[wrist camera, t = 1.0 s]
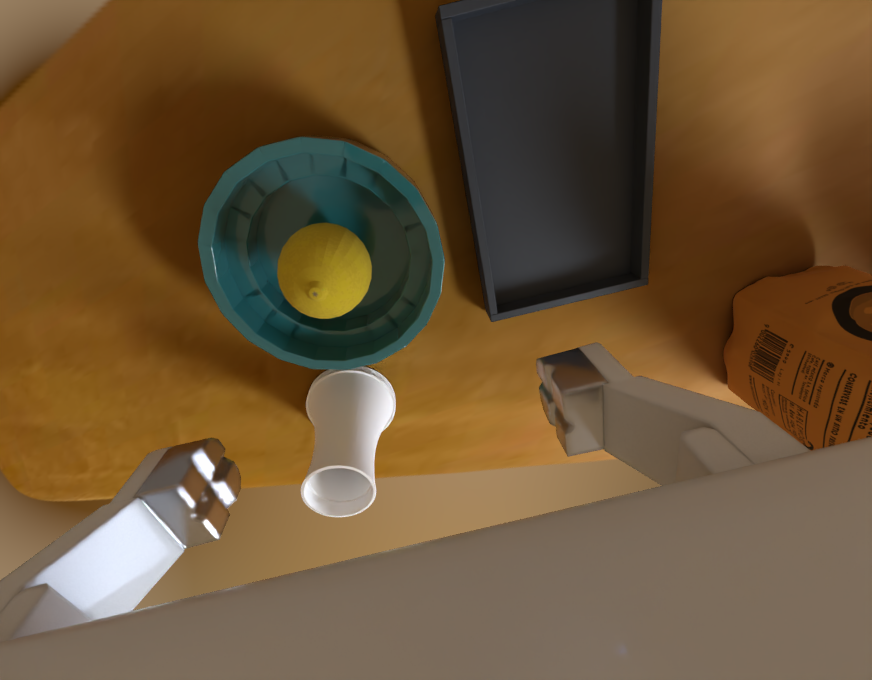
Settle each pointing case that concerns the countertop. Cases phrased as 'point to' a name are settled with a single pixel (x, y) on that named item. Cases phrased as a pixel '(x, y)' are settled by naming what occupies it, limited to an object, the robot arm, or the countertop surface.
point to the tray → (554, 143)
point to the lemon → (324, 270)
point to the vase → (346, 439)
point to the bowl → (309, 204)
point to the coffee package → (806, 353)
